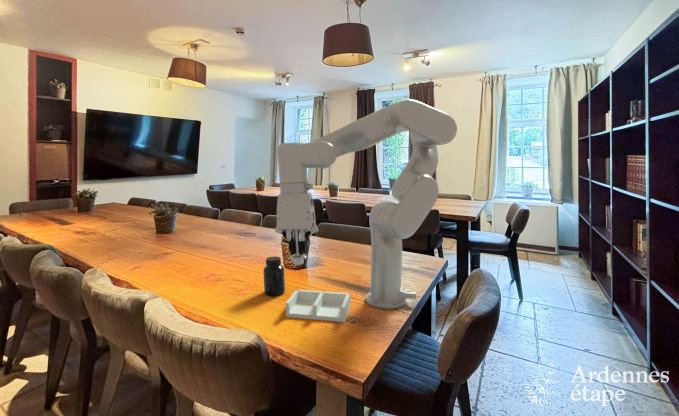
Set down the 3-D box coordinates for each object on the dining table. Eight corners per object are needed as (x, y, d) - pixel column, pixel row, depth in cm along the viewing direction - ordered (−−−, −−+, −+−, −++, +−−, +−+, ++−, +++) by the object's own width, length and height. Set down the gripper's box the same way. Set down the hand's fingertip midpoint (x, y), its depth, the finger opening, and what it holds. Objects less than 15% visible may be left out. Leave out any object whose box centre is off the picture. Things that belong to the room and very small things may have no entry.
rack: (350, 306, 102) (350, 293, 101) (344, 322, 92) (344, 307, 91) (296, 302, 105) (296, 289, 104) (285, 317, 95) (285, 303, 94)
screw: (310, 261, 96) (302, 267, 91) (295, 260, 98) (286, 265, 93) (307, 217, 94) (299, 220, 89) (292, 216, 96) (284, 220, 91)
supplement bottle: (273, 287, 117) (272, 254, 115) (289, 291, 113) (288, 257, 112) (259, 294, 111) (258, 259, 109) (275, 298, 108) (274, 262, 106)
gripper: (325, 186, 93) (328, 250, 96) (271, 188, 96) (275, 249, 99) (319, 189, 86) (322, 258, 89) (261, 190, 89) (266, 257, 92)
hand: (298, 253), depth 94 cm, fingers closed on screw, 2 cm apart
